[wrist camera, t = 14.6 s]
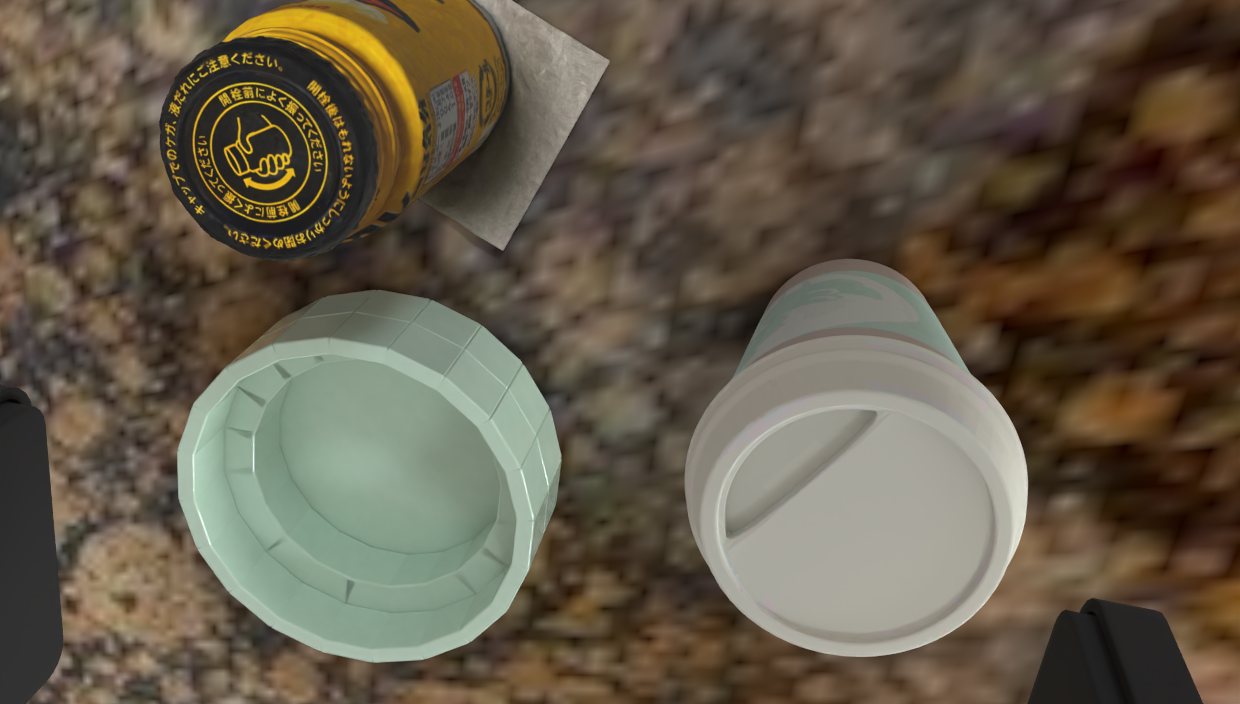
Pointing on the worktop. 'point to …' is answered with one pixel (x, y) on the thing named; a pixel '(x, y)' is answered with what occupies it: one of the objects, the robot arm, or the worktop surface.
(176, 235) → the worktop surface
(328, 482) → the bowl
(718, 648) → the worktop surface
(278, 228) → the condiment
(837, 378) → the coffee cup
